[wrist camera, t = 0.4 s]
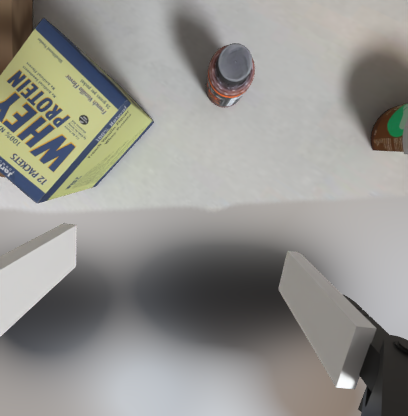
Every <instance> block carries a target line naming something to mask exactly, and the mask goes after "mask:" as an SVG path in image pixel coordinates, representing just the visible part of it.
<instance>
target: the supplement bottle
mask: <svg viewBox="0 0 408 416" xmlns="http://www.w3.org/2000/svg"><path fill="white" fill-rule="evenodd" d="M254 73H255V66H254V61H253V59H252V56H251V54H250V52H249V50H248V49H247V48H246V47H245V46H243V45H241V44H238V43H237V44H236V43H234V44H230V45H226V46H224V47H222V48H220V49H219V50H218V51H217V52H216V53H215V54H214V55H213V57H212V59H211V61H210V64H209V68H208V75H207V82H206V91H207V95H208V97H209V99H210V100H211V102H212V103H214V104H215V105H217V106H219V107H229V106H232V105H234V104H235V103H236V102H237V101H238V100H239V99H240V98H241V96H242V95H243V94H244V93H245V91H246V90H247V89H248V88H249V86H250V85H251V83H252V81H253V78H254Z"/></svg>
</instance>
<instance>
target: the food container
mask: <svg viewBox="0 0 408 416" xmlns="http://www.w3.org/2000/svg"><path fill="white" fill-rule="evenodd" d="M371 144H372V148H373V150H379V151H399V152H404V154H408V103H405V104H402V105H399V106H396V107H393V108H391V109H389V110H387V111H386V112H385V113H383V114H382V115H381V116H380V117H379V119H378V120H377V122H376V123H375V125H374V127H373V131H372V135H371Z"/></svg>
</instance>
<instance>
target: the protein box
mask: <svg viewBox="0 0 408 416" xmlns="http://www.w3.org/2000/svg"><path fill="white" fill-rule="evenodd" d="M153 123H154V121H153V120H152V119H151V118H150V117H149V116H148V115H147V114H146V113H145V112H144V111H143V110H142V109H141V108H140V107H139V106H138V105H137V103H136V102H135V101H134V100H133V99H132V98H131V97H130V96H129V95H128V94H127V93H126V92H125V91H124V90H123V89H122V88H121V87H120V86H119V85H118V84H117V83H116V82H115V81H114V80H113V79H112V78H110V77H109V76H108V75H107V74H106V73H105V72H104V71H103V70H102V69H101V68H99V67H98V66H97V65H96V64H95V63H94V62H93V61H92V60H91V59H90V58H89V57H88V56H86V55H85V54H84V53H83V52H82V51H81V50H80V49H79V48H78V47H76V46H75V45H74V44H73V43H72V42H71V41H70V40H69V39H68V38H67V37H65V36H64V35H63V34H62V33H61V32H60V31H59V30H58V29H56V28H55V27H54V26H53V25H52V24H50V23H49V22H48V21H47V20H46V19H45V18H43V19H42V20H41V22H40V23H39V24H38V25H37V26H36V28H35V29H34V31H33V32H32V33H31V35H30V36H29V37H28V39H27V40H26V42H25V43H24V44H23V46H22V47H21V48H20V50H19V51H18V53H17V54H16V55H15V57H14V58H13V59H12V61H11V62H10V63H9V64H8V66H7V67H6V69H5V70H4V71H3V73H2V74H1V75H0V173H2V174H3V175H4V176H5V177H6V178H8V179H9V180H10V181H11V182H12V183H14V184H15V185H16V186H17V187H18V188H19V189H20V190H21V191H23V192H24V193H25V194H26V195H27V196H28V197H30V198H31V199H32V200H33V201H34V202H36V203H41V202H44V201H48V200H51V199H54V198H58V197H61V196H65V195H68V194H72V193H75V192H78V191H82V190H85V189H89V188H92V187H95V186H97V185H98V183H99V182H100V181H101V180H102V179H103V178H104V177H105V176H106V175H107V174H108V172H109V171H110V170H111V169H112V168H113V167H114V166H115V165H116V164H117V163H118V162H119V161H120V159H121V158H122V157H123V156H124V155H125V154H126V153H127V152H128V151H129V149H130V148H131V147H132V146H133V145H134V144H135V143H136V142H137V141H138V140H139V138H140V137H141V136H142V135H143V134H144V133H145V132H146V131H147V130H148V129H149V127H150V126H151V125H152V124H153Z"/></svg>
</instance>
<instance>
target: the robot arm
mask: <svg viewBox="0 0 408 416" xmlns="http://www.w3.org/2000/svg"><path fill="white" fill-rule="evenodd" d="M76 231H77V226H76V225H73V224H65V223H64V224H62V225H60V226H58V227H56V228H54V229H52V230H50V231H48V232H46V233H44V234H42V235H40V236H38V237H37V238H35V239H33V240H31V241H29V242H27V243H25V244H23V245H21V246H19V247H17V248H15V249H14V250H12V251H10V252H8V253H6V254H4V255H2V256H0V336H1V335H2V334H3V333H4V332H6V331H7V330H8V329H9V328H10V327H11V326H12V325H13V324H14V323H15V322H16V321H17V320H18V319H20V318H21V317H22V316H23V315H24V314H25V313H26V312H27V311H28V310H29V309H30V308H31V307H32V306H34V305H35V304H36V303H37V302H38V301H39V300H40V299H41V298H42V297H43V296H45V295H46V294H47V293H48V292H49V291H50V290H51V289H52V288H53V287H54V286H55V285H56V284H57V283H58V282H60V281H61V280H62V279H63V278H64V277H65V276H66V275H67V274H68V273H69V272H70V271H71V270H73V269H74V268H75V267H76V234H77V232H76ZM279 291H280V293H281V294H282V296H283V298H284V300H285V301H286V303H287V305H288V306H289V308H290V310H291V311H292V313H293V315H294V317H295V318H296V320H297V322H298V323H299V325H300V327H301V329H302V330H303V332H304V334H305V335H306V337H307V339H308V341H309V342H310V344H311V346H312V347H313V349H314V351H315V352H316V354H317V356H318V358H319V359H320V361H321V363H322V364H323V366H324V368H325V369H326V371H327V373H328V375H329V376H330V378H331V380H332V381H333V383H334V385H335V386H336V387H337V388H349V389H355V388H356V385H357V382H358V379H359V377H361V378H362V379H363V381H364V382H365V384H366V385H367V387H366V390H365V392H364V395H363V398H362V400H361V403H360V406H359V408H358V409H359V410H360V411H361V412H362V413H361V416H408V340H406V339H404V338H401V337H398V336H393V335H389V334H388V333H387V332H386V331H385V330H384V329H383V328H382V327H381V326H380V325H379V324H377V323H376V322H375V321H374V320H373V319H372V318H371V317H369V315H368V314H367V313H366V312H365V311H364V310H362V308H361V307H360V306H359V305H358V304H357V303H355V302H354V301H353V300H351V299H350V298H348V297H347V296H345V295H342V294H341V293H340V292H339V291H338V290H337V289H336V288H335V287H334V286H333V285H332V284H331V283H330V282H329V281H328V280H327V279H326V278H325V277H324V276H323V275H322V274H321V273H320V272H319V271H318V270H317V269H316V268H315V267H314V266H312V264H311V263H310V262H309V261H307V260H306V258H305V257H304V256H302V255H301V254H300V253H299V252H293V251H287V256H286V260H285V264H284V268H283V273H282V277H281V281H280V285H279Z"/></svg>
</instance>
